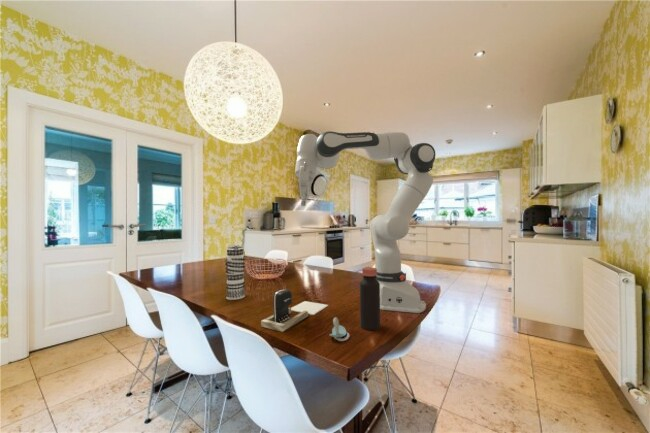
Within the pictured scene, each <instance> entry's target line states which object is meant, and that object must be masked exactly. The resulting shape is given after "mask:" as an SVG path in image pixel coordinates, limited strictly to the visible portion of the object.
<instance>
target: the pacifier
mask: <svg viewBox="0 0 650 433" xmlns="http://www.w3.org/2000/svg"><path fill="white" fill-rule="evenodd" d="M332 324H333V327H332V329H331V333H330V334H329V337H330V336H331V337H333V339H334V340H337V341H338V342H344V341H347V340H349V338H350V336H351V335H350V333H349V332H348V331H347V330H346V328H345V326H342V325H341V324H340V322H339V319H338V317H337V316H336V317H333V319H332ZM343 337H344V338H343Z"/></svg>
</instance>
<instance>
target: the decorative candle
mask: <svg viewBox="0 0 650 433" xmlns="http://www.w3.org/2000/svg"><path fill="white" fill-rule="evenodd" d="M244 248H245V247H243V246H242V245H241V244H231V245H229V246H228V247H227V248H226V259H225V261H224V262H225V266H226V267H225V274H226V275H227V276H226V283H225V285H226V287H225V289H226V290H225V292H226V293H225V296H226V297H225V298H226V300H229V301H234V300H241V299H243V298H245V294H246V292H245V291H246V289H245V288H244V287H245V284H246V282H245V279H244V274H245V267H246V266H245V264H246V263H245V262H244V261H246V256H244V255H245V254H244Z"/></svg>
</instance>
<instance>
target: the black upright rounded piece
mask: <svg viewBox="0 0 650 433" xmlns="http://www.w3.org/2000/svg"><path fill="white" fill-rule="evenodd" d="M292 296H293V293H292V292H291V290H288V289H286V288H285V289H280V290H277V291H276V292H275V293H273V298H272V299H273V300H272V301H273V303H272V304H273V305H272V306H273V315H274V322H278V323H284V322H285V321H287V320H289V319H291V316H290V314H289V308H290V307H289V306H290V305H292V303H293V297H292Z"/></svg>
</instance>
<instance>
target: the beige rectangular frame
mask: <svg viewBox="0 0 650 433" xmlns="http://www.w3.org/2000/svg"><path fill="white" fill-rule="evenodd" d="M291 308H292V307H289V315H290V314H292V311H291ZM308 317H309V314H308V311H303V312H301V313H300V312H298V314H296V315H294V316H292V317H290V319H289V320H287V321H285V322H284V323H278V322H274V314H272V315H270V316H268V317H265V318H264V319H261V321H260V327H261V328H265V329H269V330H274V331H277V332H281V333H283V332H285V331H286V330H289V329H290V328H291V327H293V326H295V325H296V324H298V323H300V322H301V321H303V320H304V319H306V318H308Z"/></svg>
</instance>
